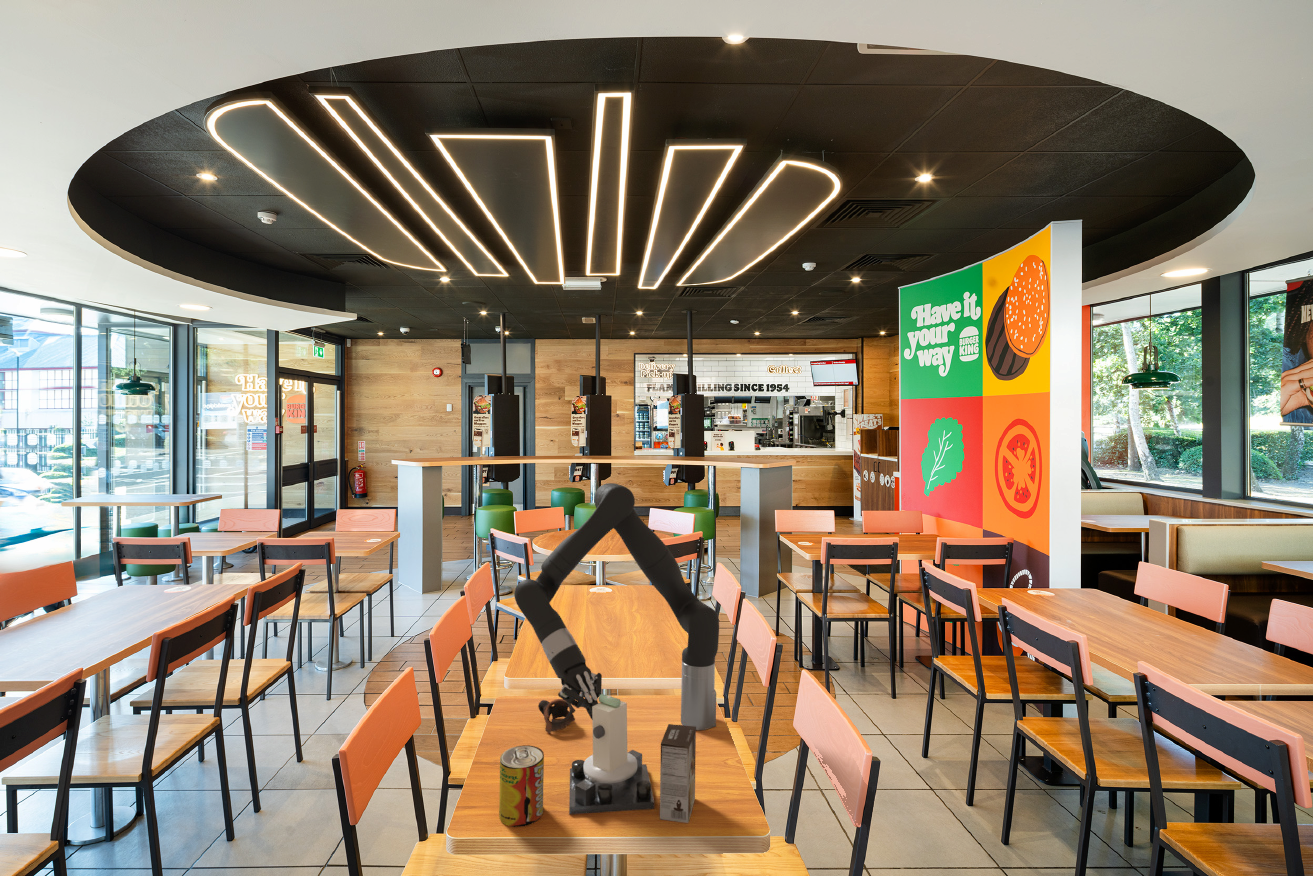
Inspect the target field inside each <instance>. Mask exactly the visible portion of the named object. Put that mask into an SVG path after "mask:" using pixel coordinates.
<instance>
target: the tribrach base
mask: <svg viewBox="0 0 1313 876" xmlns="http://www.w3.org/2000/svg"><path fill="white" fill-rule="evenodd" d="M627 752H628V753H630V754H632V755H633V756H634V757H635V758H636V759H637V771H636V773H635V774H634V775H633V776H632V777H630V778H629V779H627V780H624V781H621V782H617V783H599V782H595V783H592V782H590V781H589V779H588V778H587V777H586V776H585V774H584V768H583V765H584V762H585V760H583V759H576V760H573V761H572V762H571V768H569V798H568V799H569V800H568V801H569V802H568V803H569V807H568V808H569V809H568V813H569V814H568V815H579V814H580V815H581V814H582V815H583V814H594V813H595V814H598V813H611V812H624V811H625V812H627V811H642V810H643V811H644V810H655V799H654V794H653V789H652V782H651V780H650V776H649V771H648V767H647V764H645V763H644V764H643V753H642V752H639V751H636V750H634V749H631V750H629V751H627Z"/></svg>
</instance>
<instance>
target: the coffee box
mask: <svg viewBox="0 0 1313 876" xmlns="http://www.w3.org/2000/svg"><path fill="white" fill-rule="evenodd" d="M696 738H697V730H696V727H695V726H685V725H682V724H672V723H668V724H667V728H666V730H665V732H664V734H663V737H662V739H661V742H660V768H659V769H660V771H659V773H660V774H659V775H660V776H659V777H660V779H659V781H660V782H659V787H660V788H659V797H660V798H659V820H664V821H669V822H670V821H671V822H677V823H684V824H685V823H686V824H689V822H690V819H691V815H692V810H693V808H694V804H695V799H696V755H697V754H696V748H697V745H696V743H697V742H696V740H697V739H696Z"/></svg>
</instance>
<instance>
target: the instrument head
mask: <svg viewBox="0 0 1313 876" xmlns="http://www.w3.org/2000/svg"><path fill="white" fill-rule="evenodd" d="M591 721H592V754H591V755H590V756H588V757H587V758H586V759H585V760H584V761H585V762H584V765H583V768H584V774H585V776H586V777H587V778H588V779H589V781H590V782H592V783H595V782H599V783H617V782H621V781H624V780H627V779H629V778H630V777H632V776H633V775H634V774H635V773H636V771H637V759H636V758H635V757H634V756H633V755H632V754H630V753H628V752H629V751H628V703H627V702H626V701H622V700H621V699H619V698H618V697H617V698H616V697H614V696H612V695H607V694H604V693H601V695H600V696H599V697H598V704H596V705H594V706H592V719H591Z"/></svg>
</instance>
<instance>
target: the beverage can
mask: <svg viewBox="0 0 1313 876" xmlns="http://www.w3.org/2000/svg"><path fill="white" fill-rule="evenodd" d="M544 766H545V754H544V751H543V750H542V749H541V748H539V747H538V746H534V745H530V744H528V745H524V744H523V745H516V746H513V747H511V748H508V749H506V750H505V751H503V753H501V754H500V757H499V801H498V802H499V805H498V812H499V813H498V818H499V821H500V822H501V823H502V824H503V825H505V826H508V827H512V828H521V827H522V828H523V827H528V826H530V825H532V824H535V823H536V822H538V821H539V820H540V819H541V818H542V816H543V813H544V778H545V777H544V776H545V775H544V774H545V773H544V772H545V771H544V770H545V769H544Z"/></svg>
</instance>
